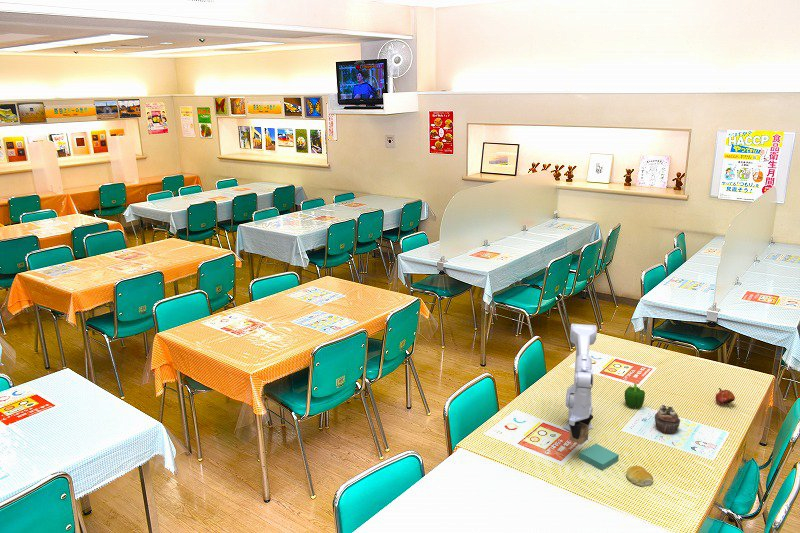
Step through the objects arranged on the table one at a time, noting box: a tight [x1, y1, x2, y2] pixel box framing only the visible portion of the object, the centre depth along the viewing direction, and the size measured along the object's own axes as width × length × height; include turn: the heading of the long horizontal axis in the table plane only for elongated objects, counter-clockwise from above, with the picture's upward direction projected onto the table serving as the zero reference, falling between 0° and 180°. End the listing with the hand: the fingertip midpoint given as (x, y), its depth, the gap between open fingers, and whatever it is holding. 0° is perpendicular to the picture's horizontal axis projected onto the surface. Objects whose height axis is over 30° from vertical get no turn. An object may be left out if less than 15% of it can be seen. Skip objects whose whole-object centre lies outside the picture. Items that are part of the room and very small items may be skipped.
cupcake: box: [654, 404, 681, 435], centre depth 248 cm, size 10×10×10 cm
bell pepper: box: [624, 382, 646, 409], centre depth 267 cm, size 8×8×10 cm
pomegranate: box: [714, 387, 736, 410], centre depth 268 cm, size 7×7×10 cm
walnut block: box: [568, 422, 590, 446], centre depth 230 cm, size 5×5×6 cm
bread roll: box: [626, 465, 654, 487], centre depth 217 cm, size 8×9×4 cm
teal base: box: [578, 443, 620, 471], centre depth 229 cm, size 10×10×3 cm
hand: (579, 435), depth 230 cm, fingers closed on walnut block, 5 cm apart
